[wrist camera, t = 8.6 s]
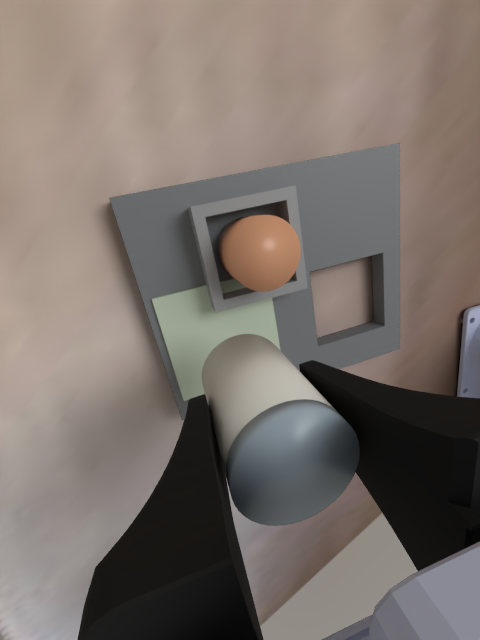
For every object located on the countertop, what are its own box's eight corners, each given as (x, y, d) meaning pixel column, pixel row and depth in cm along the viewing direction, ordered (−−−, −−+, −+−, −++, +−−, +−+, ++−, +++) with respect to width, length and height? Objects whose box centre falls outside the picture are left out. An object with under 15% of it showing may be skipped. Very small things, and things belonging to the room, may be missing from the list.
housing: (388, 343, 24) (416, 357, 21) (180, 409, 21) (183, 435, 18) (385, 147, 19) (421, 135, 16) (112, 199, 16) (103, 195, 13)
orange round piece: (282, 272, 18) (304, 281, 15) (225, 287, 17) (237, 299, 14) (273, 210, 17) (295, 207, 14) (211, 223, 16) (221, 223, 13)
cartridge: (241, 423, 15) (289, 543, 9) (183, 378, 13) (199, 489, 8) (298, 368, 15) (381, 456, 9) (246, 316, 13) (309, 384, 8)
